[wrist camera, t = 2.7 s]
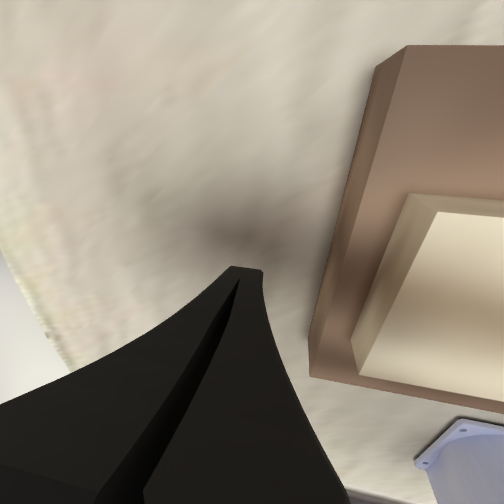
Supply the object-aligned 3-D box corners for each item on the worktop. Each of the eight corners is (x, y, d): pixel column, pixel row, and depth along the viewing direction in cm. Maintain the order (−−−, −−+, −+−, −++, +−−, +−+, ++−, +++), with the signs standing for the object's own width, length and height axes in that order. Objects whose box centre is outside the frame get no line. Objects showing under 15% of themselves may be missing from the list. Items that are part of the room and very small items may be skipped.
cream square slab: (518, 367, 11) (557, 411, 9) (350, 339, 12) (358, 374, 11) (682, 215, 7) (802, 245, 5) (408, 192, 8) (437, 211, 6)
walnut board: (486, 368, 15) (523, 417, 13) (307, 338, 17) (309, 376, 14) (769, 72, 7) (1022, 47, 5) (376, 66, 9) (407, 45, 6)
